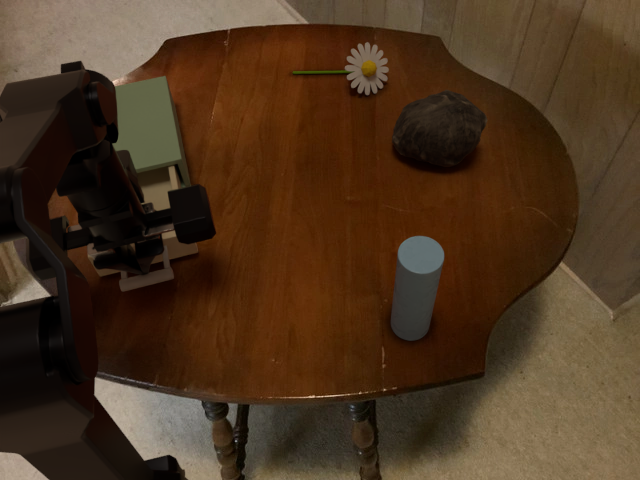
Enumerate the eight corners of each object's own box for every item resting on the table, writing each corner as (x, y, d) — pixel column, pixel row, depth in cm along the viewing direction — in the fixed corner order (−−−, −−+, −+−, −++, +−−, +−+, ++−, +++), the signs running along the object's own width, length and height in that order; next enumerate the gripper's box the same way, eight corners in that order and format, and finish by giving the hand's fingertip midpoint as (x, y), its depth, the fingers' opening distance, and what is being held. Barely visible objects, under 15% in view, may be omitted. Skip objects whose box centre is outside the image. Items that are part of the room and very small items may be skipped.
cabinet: (191, 188, 82) (181, 158, 77) (92, 211, 80) (76, 182, 75) (175, 106, 92) (165, 75, 87) (87, 125, 90) (72, 95, 85)
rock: (380, 128, 86) (396, 75, 77) (452, 120, 88) (475, 68, 80) (401, 184, 81) (421, 134, 72) (477, 174, 83) (504, 125, 75)
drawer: (204, 283, 72) (197, 264, 68) (102, 309, 70) (89, 291, 67) (181, 160, 84) (173, 138, 80) (93, 180, 82) (82, 159, 79)
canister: (400, 346, 67) (409, 279, 55) (384, 313, 69) (390, 243, 58) (436, 333, 67) (452, 264, 56) (419, 301, 70) (431, 230, 59)
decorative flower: (288, 41, 88) (390, 39, 87) (292, 47, 94) (388, 45, 94) (289, 95, 90) (390, 94, 89) (293, 98, 96) (387, 96, 95)
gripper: (184, 107, 62) (212, 199, 75) (-2, 147, 60) (60, 235, 73) (201, 188, 56) (228, 272, 69) (-5, 236, 54) (64, 314, 67)
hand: (144, 270), depth 69 cm, fingers closed, pressing on drawer
